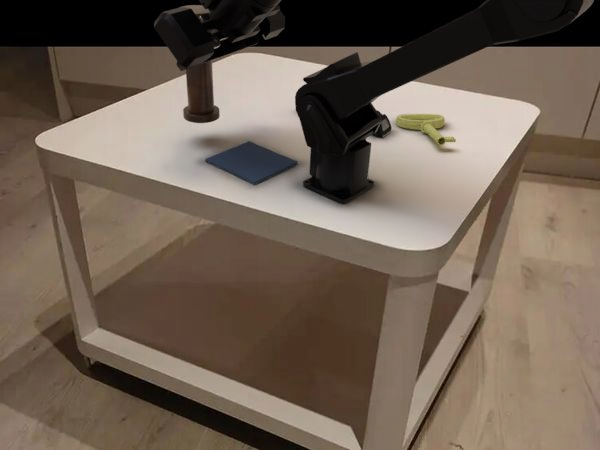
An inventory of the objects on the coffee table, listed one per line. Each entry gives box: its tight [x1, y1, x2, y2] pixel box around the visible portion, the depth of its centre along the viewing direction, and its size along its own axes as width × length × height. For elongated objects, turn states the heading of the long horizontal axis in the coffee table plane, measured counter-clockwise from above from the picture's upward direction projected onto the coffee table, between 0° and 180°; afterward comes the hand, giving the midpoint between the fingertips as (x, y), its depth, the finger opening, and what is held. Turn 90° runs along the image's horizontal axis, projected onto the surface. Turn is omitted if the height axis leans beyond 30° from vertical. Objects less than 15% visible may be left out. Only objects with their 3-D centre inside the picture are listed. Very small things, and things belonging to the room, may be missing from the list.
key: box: [395, 113, 457, 146], centre depth 90 cm, size 7×12×2 cm, turn 26°
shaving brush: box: [178, 4, 221, 124], centre depth 80 cm, size 5×5×14 cm
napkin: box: [204, 140, 299, 186], centre depth 80 cm, size 9×8×1 cm
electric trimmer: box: [294, 95, 392, 138], centre depth 92 cm, size 4×16×3 cm, turn 58°
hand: (191, 63), depth 81 cm, fingers closed on shaving brush, 4 cm apart
